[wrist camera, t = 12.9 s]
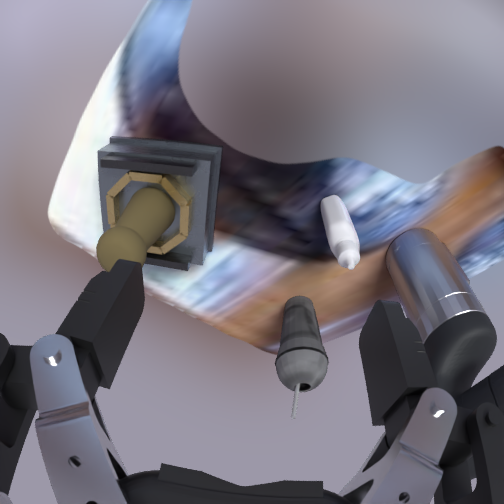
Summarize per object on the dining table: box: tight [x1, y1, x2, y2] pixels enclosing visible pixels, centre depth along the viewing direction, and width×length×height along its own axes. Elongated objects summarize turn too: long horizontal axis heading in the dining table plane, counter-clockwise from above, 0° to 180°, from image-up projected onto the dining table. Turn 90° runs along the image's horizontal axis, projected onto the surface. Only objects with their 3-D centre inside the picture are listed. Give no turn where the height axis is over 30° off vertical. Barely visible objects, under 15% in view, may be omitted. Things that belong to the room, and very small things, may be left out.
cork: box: [96, 187, 175, 272], centre depth 33 cm, size 6×6×11 cm
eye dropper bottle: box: [321, 195, 360, 270], centre depth 36 cm, size 4×6×12 cm
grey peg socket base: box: [98, 136, 223, 271], centre depth 39 cm, size 15×15×7 cm
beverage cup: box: [275, 296, 328, 419], centre depth 42 cm, size 7×7×20 cm
